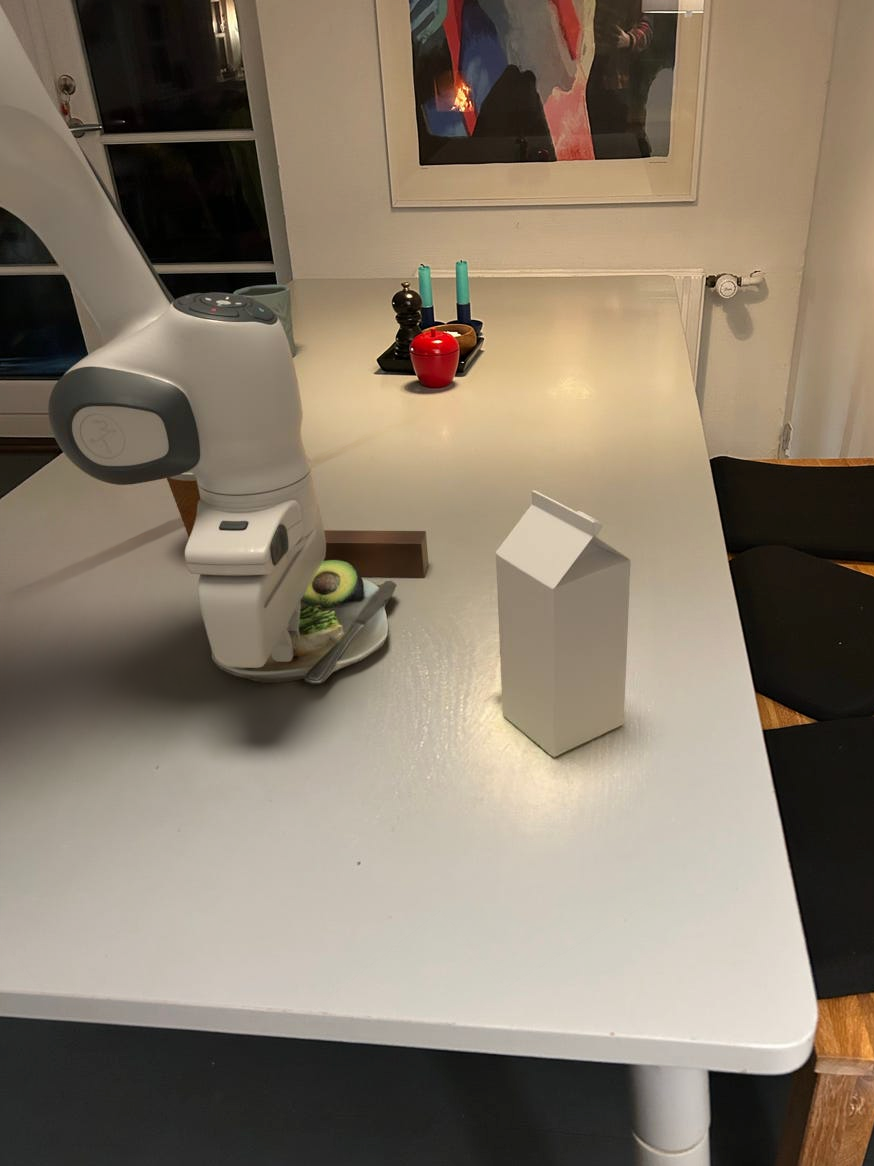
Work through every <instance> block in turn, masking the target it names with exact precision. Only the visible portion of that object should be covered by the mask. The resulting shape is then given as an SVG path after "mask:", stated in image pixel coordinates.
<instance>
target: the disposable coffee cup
mask: <svg viewBox="0 0 874 1166" xmlns="http://www.w3.org/2000/svg"><path fill="white" fill-rule="evenodd" d="M166 480H167V483H168V486H169V488H170V491H171V493H172V496H173V498H174V502H175V504H176V508H177V509H178V513H179V516H180V517H181V520H182V523H183V526H184V528H185V531H186V534H187V536H188V539H189V538H190V535H191V532H192V530H193V527H194V524H195V520H196V515H197V506H198V502H199V500H201V498H200V494H199V489H198V484H197V480H196V477H195V475H194V474H193V473H191V472H185V473H182V474H179V475H176V476H173V477H168V478H166Z"/></svg>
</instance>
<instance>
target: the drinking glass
mask: <svg viewBox="0 0 874 1166" xmlns="http://www.w3.org/2000/svg"><path fill="white" fill-rule="evenodd" d="M233 294H236V295H241V296H245V297H248V298H252V299H254V300H255V301H258V302H260V303H262V304H264V305H266V306H267V307H268V308H270V309H271V310H272V311H273V312H274V313H275V314H276V316H277V317H278V319H279V320H280V322H281V324H282V326H283V329H284V331H285V334H286V337H287V340H288V343H289V347H290V350H291V354H292V358H294V357H295V356H296V344H295V338H294V331H293V326H294V325H293V319H292V300H291V299H292V298H291V288H290V287H289V286H288V285H284V284H262V285H252V286H247V287H246V286H245V287H243V288H240V289H236V290H235V291H233Z"/></svg>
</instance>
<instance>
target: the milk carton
mask: <svg viewBox="0 0 874 1166" xmlns="http://www.w3.org/2000/svg"><path fill="white" fill-rule="evenodd" d="M602 528H603V524H602V522H600V521H599V520H597V519H595V518H593V517H592V516H590V515H589V514H587V513H585V512H583V511H580V510H577V511H576V510H574V509H572V508H570V507H568V506H567V505H564V504H562V503H560V502H558V501H556V500H554V499H553V498H550V497H549V496H546V495H545V494H543V493H540V492H539V491H537V490H532V491H531V505H530V506H529V507H528V509H527V510H526V511H525V512H524V514H523V515H522V517H521V518H520V519H519V521H518V522H517V523H516V525H514V527H513V529H512V530H511V531H510V533H509V534H508V535H507V537H506V538H505V539H504V541H503V542H502V543H501V545H500V546H499V547H498V548H497V550H496V551H495V565H496V586H497V587H496V588H497V589H496V591H497V613H498V637H499V658H500V660H499V661H500V685H501V686H500V687H501V709H502V715H503V717H505V719H507V720H508V721H509V722H511V723H512V724H513V725H514V726H515V727H517V728H518V729H519V730H520V731H521V732H522V733H524V734H525V735H526V736H527V737H528V738H529V739H531V740H532V741H533V742H534V743H536V744H537V745H538V746H539V745H540V746H539V747H541V749H543V751H545V752H546V753H548V754H549V755H550V756H552V758H556V757H558V756H559V755H562V754H564V753H566V752H568V751H570V750H572V749H574V748H576V747H579V746H581V745H583V744H585V743H587V742H589V741H591V740H593V739H595V738H597V737H600V736H602V735H604V734H606V733H608V732H611V731H612V730H614V729H616V728H619V727H621V726H623V725H624V724H625V723H624V722H625V706H626V705H625V704H626V703H625V702H626V701H625V700H626V682H627V681H626V678H627V659H628V658H627V656H628V635H629V634H628V632H629V606H630V583H631V559H630V558H629V557H627V556H626V555H624V554H623V553H622V552H620V551H619V550H617V549H615V548H614V547H612V546H611V545H610V544H608V543H606V542H605V541H603V540H602V539H600V538H599V537H598V535H599V533H600V532H601V530H602Z"/></svg>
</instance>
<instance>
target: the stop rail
mask: <svg viewBox="0 0 874 1166" xmlns="http://www.w3.org/2000/svg"><path fill="white" fill-rule="evenodd" d="M324 532H325V538H326V555H325V558H324V560H323V561H326V560H341V561H346V562H348V563H350V564H351V565H353V566H354V567H355V568H356V569H357V570H358V572H359V574H360V575H361V578H373V577H374V578H425V576H426V573H427V570H428V568H429V565H430V564H429V554H428V552H429V551H428V543H427V542H428V540H427V539H428V538H427V531H426V530H344V529H343V530H342V529H340V530H339V529H338V530H337V529H335V530H333V529H330V530H329V529H328V530H326V529H324Z"/></svg>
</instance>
